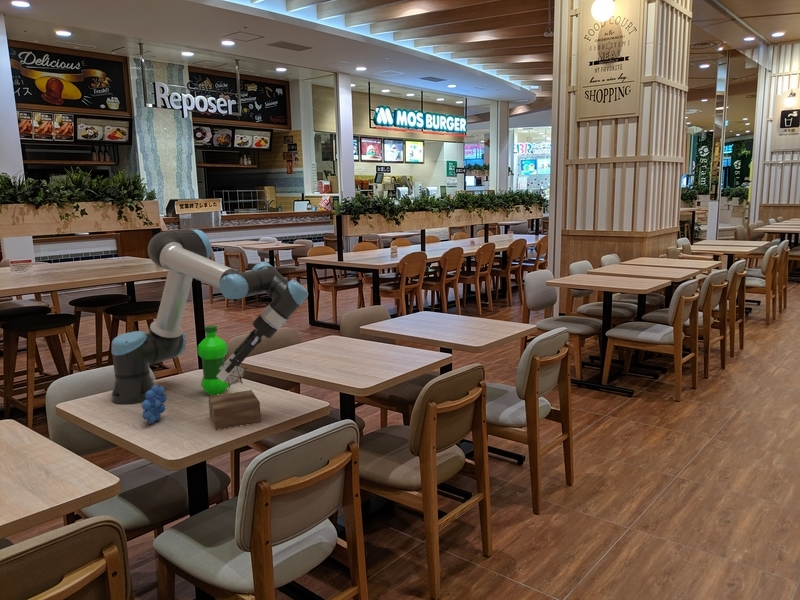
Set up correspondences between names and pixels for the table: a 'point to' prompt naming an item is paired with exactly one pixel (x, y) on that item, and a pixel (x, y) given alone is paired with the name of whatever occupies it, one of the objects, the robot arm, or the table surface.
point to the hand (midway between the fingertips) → (221, 374)
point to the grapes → (154, 404)
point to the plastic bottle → (212, 361)
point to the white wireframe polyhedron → (234, 375)
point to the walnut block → (234, 409)
